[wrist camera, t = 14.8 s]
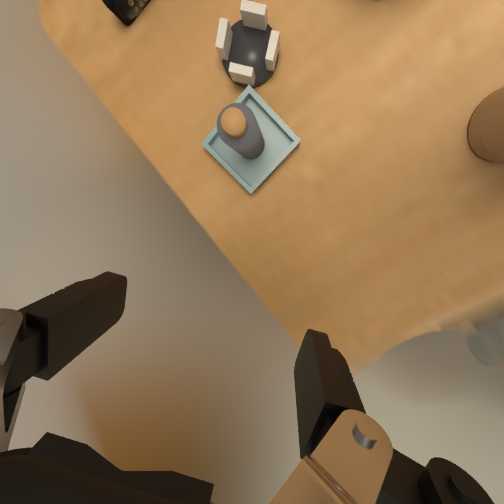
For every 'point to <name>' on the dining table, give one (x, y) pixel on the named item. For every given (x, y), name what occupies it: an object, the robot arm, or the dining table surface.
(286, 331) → the dining table surface
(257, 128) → the grey tan rounded cylinder
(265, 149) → the tray
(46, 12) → the dining table surface
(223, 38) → the round holder stand
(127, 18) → the mobile phone
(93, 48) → the dining table surface
